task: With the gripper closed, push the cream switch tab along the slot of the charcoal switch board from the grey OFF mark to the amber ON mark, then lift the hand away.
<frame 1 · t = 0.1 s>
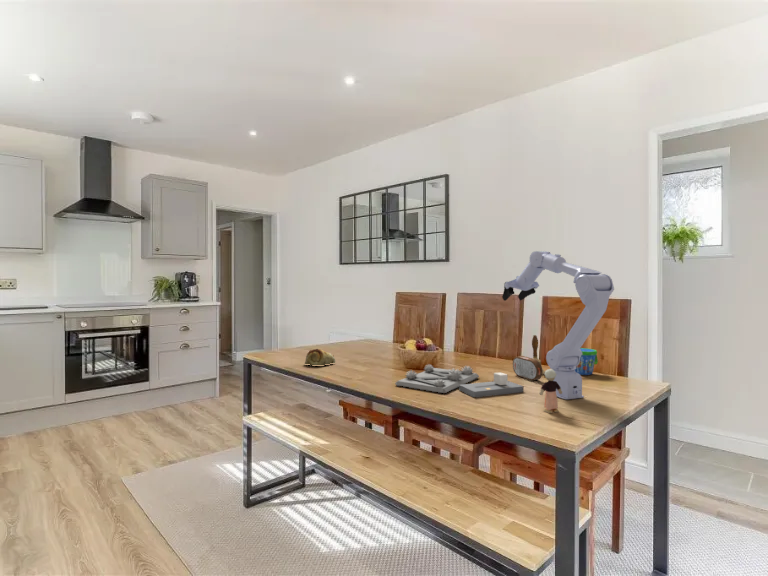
hand: (511, 298, 171), 32 cm above the table, tool tilted 50°, fingers open, 7 cm apart
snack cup: (582, 374, 178), on the table
grey knobbed board: (438, 383, 165), on the table
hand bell: (535, 373, 180), on the table
pastry: (320, 365, 200), on the table
tin: (526, 378, 170), on the table
switch board: (491, 391, 151), on the table
switch tab: (500, 378, 152), point 4 cm above the table, slide at 0.0 cm
grandmother figurine: (550, 412, 127), on the table
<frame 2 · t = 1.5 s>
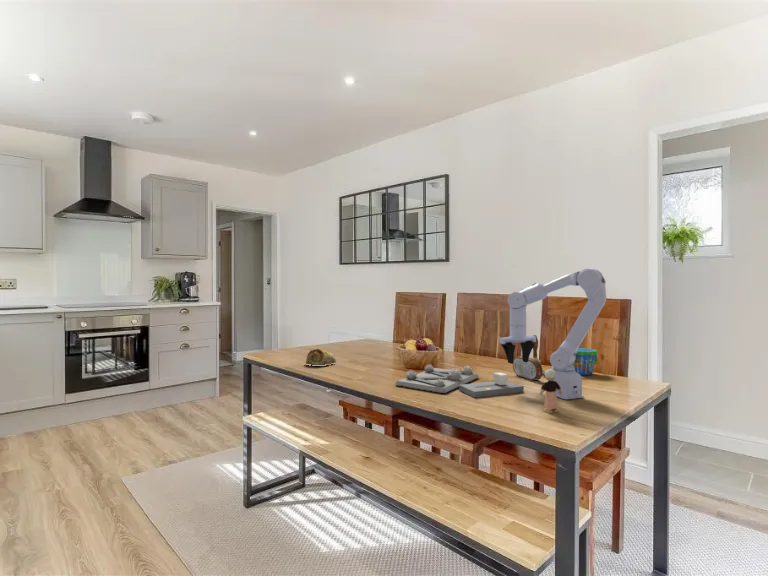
hand: (517, 362, 154), 9 cm above the table, tool pointing down, fingers open, 6 cm apart
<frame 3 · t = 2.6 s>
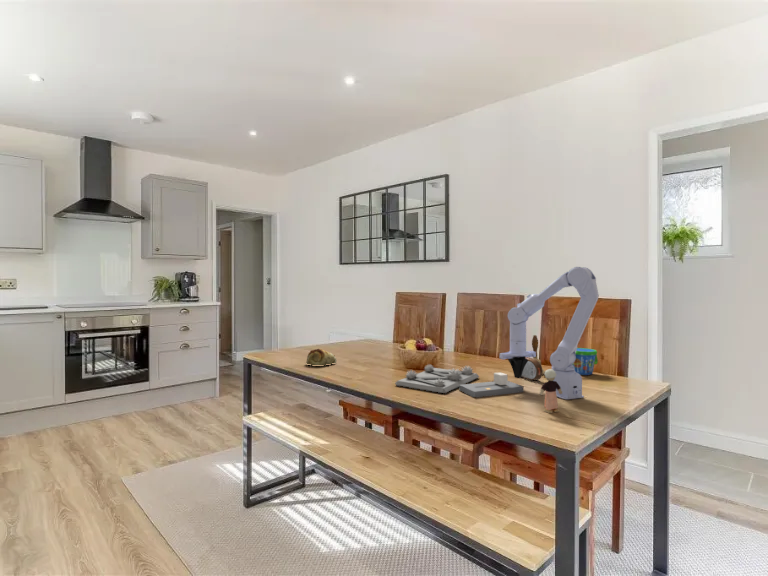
hand: (517, 377, 154), 4 cm above the table, tool pointing down, fingers closed
nothing on the table moved.
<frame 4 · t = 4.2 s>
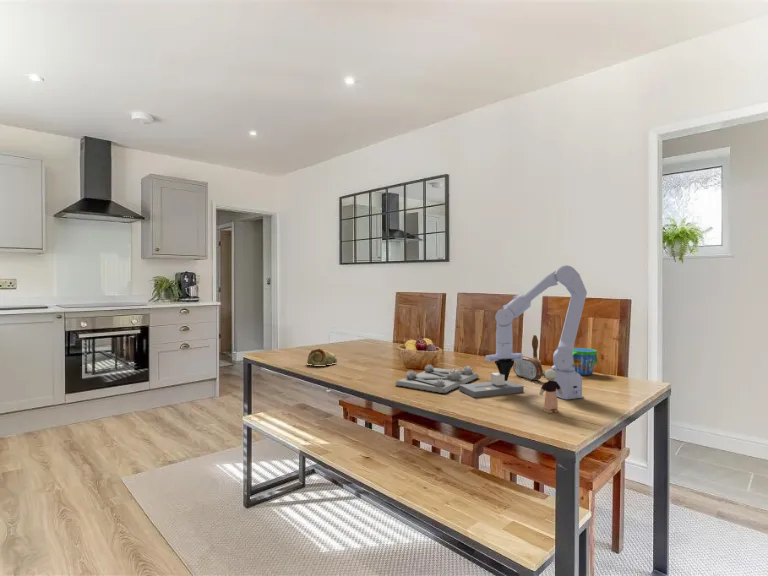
hand: (504, 380, 152), 3 cm above the table, tool pointing down, fingers closed
switch tab: (497, 379, 151), point 4 cm above the table, slide at 1.3 cm, touching gripper
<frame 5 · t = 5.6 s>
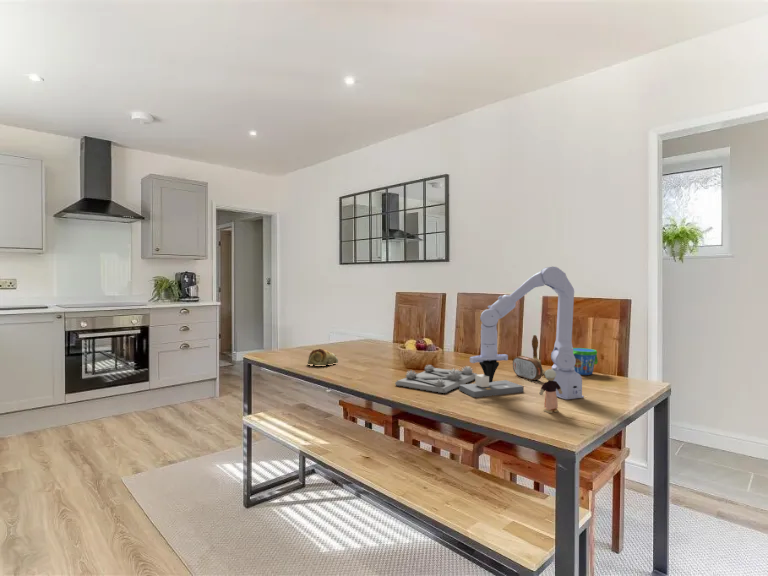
hand: (489, 381, 150), 3 cm above the table, tool pointing down, fingers closed
switch tab: (482, 380, 149), point 4 cm above the table, slide at 7.7 cm, touching gripper
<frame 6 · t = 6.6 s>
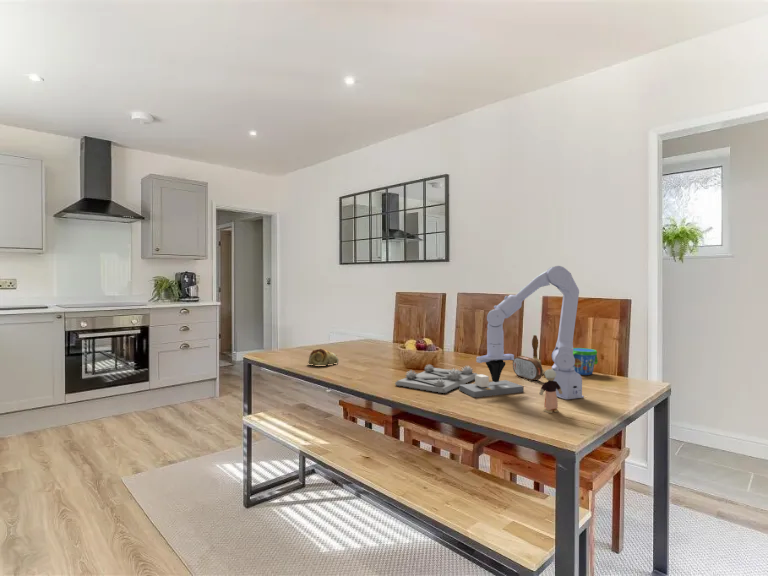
hand: (495, 381, 151), 3 cm above the table, tool pointing down, fingers closed
switch tab: (481, 380, 149), point 4 cm above the table, slide at 7.8 cm
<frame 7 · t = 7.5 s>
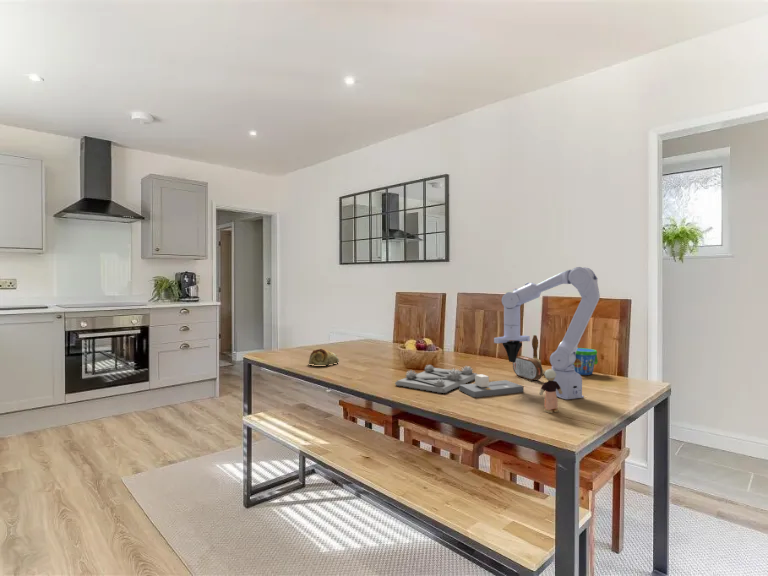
hand: (512, 361, 156), 9 cm above the table, tool pointing down, fingers closed
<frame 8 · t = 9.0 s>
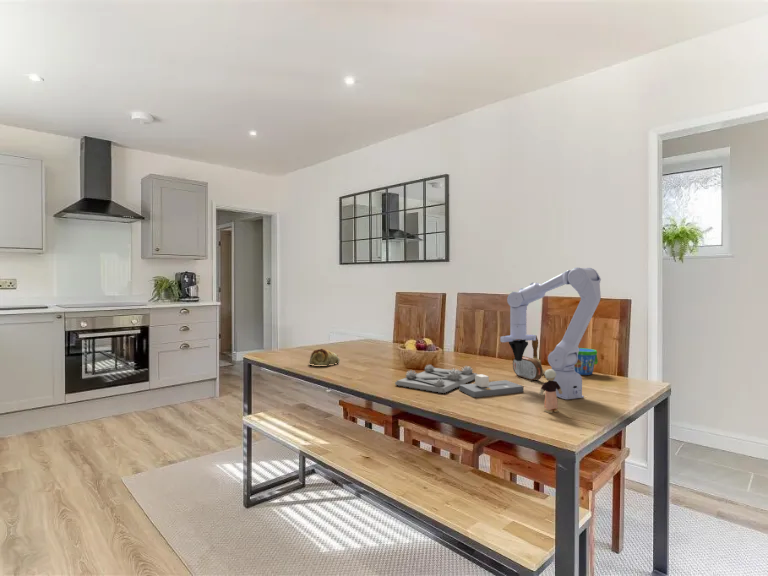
hand: (518, 360, 158), 9 cm above the table, tool pointing down, fingers closed
at the end: switch tab slide at 7.8 cm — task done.
